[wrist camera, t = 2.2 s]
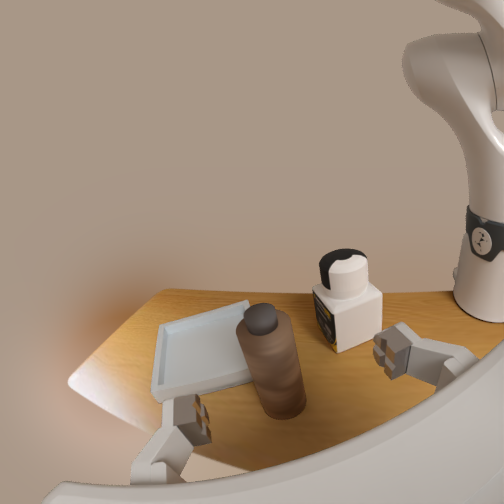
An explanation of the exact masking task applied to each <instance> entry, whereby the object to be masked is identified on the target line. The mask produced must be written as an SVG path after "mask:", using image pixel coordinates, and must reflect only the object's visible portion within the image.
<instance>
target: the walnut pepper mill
mask: <svg viewBox="0 0 504 504" xmlns="http://www.w3.org/2000/svg"><path fill="white" fill-rule="evenodd" d="M243 317H244V318H243V319H242V320H241V321H240V322H239V324H238V325H237V327H236V335H237V338H238V341H239V344H240V347H241V349H242V352H243V355H244V358H245V360H246V363H247V366H248V368H249V371H250V374H251V376H252V379H253V382H254V384H255V387H256V390H257V392H258V395H259V397H260V400H261V403H262V405H263V408H264V410H265V412H266V413H267V415H269V416H270V417H272V418H274V419H279V420H285V419H290V418H293V417H295V416H297V415H298V414H299V413H301V412H302V411H303V409H304V408H305V405H306V395H305V390H304V384H303V379H302V374H301V369H300V364H299V359H298V354H297V349H296V344H295V339H294V334H293V329H292V325H291V320H290V317H289V316H288V314H286V313H285V312H283V311H281V310H276V309H275V307H274V306H273V305H272V304H269V303H259V304H255V305H253V306H251V307H249V308H248V309H247V310H246V311H245V312H244V315H243Z"/></svg>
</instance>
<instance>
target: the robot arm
mask: <svg viewBox="0 0 504 504" xmlns="http://www.w3.org/2000/svg"><path fill="white" fill-rule="evenodd" d="M435 1H437V2H439V3H441V4H444V5H446V6H449V7H451V8H454V9H456V10H459V11H461V12H464V13H467V14H469V15H471V16H472V17H474V18H475V19H476V20H478V22H479V23H480V26H481V31H480V32H477V33H452V34H436V35H431V36H428V37H425V38H421V39H419V40H416V41H413V42H411V43H408V44H407V46H406V48H405V50H404V54H403V58H402V67H403V73H404V77H405V80H406V82H407V84H408V86H409V87H410V89H411V91H412V92H413V93H414V94H415V95H416V96H417V98H419V99H420V101H422V102H423V103H424V104H425V105H427V106H429V107H430V108H432V109H433V110H434V111H436V112H437V113H438V114H439V115H440V116H442V118H444V120H445V121H446V122H447V123H448V124H449V125H450V127H451V128H452V130H453V131H454V133H455V134H456V136H457V138H458V140H459V142H460V144H461V147H462V149H463V152H464V156H465V160H466V166H467V173H468V184H469V205H468V206H467V213H466V233H465V234H464V235H463V239H462V245H461V251H460V257H459V263H458V267H457V268H455V269H454V272H453V277H454V280H455V286H454V290H453V293H454V297H455V300H456V301H457V303H458V304H459V306H460V307H461V308H462V309H463V310H465V311H466V312H467V313H469V314H470V315H472V316H474V317H476V318H479V319H481V320H485V321H489V322H504V133H503V132H501V131H500V130H499V129H498V128H497V127H496V126H495V124H494V122H493V119H492V115H491V113H492V112H493V111H496V110H498V111H504V0H435ZM373 341H374V342H375V346H374V347H373V355H374V359H375V360H376V362H377V364H378V365H379V366H381V367H384V372H385V374H386V375H387V376H388V377H389V379H390V380H393V379H395V378H397V377H399V376H401V375H403V374H405V373H406V374H408V375H410V376H412V377H415V378H417V379H420V380H422V381H425V382H427V383H430V384H432V385H435V386H437V387H436V390H435V393H434V394H433V395H431V396H430V397H428V398H427V399H425V400H424V401H422V402H420V403H419V404H417V405H415V406H414V407H412V408H410V409H409V410H407V411H405V412H403V413H402V414H400V415H398V416H396V417H394V418H392V419H391V420H389V421H387V422H385V423H383V424H381V425H379V426H377V427H375V428H373V429H371V430H369V431H367V432H365V433H363V434H360V435H358V436H356V437H354V438H351V439H349V440H347V441H344V442H342V443H340V444H337V445H335V446H332V447H330V448H327V449H325V450H322V451H319V452H316V453H314V454H311V455H308V456H305V457H302V458H299V459H296V460H293V461H289V462H286V463H283V464H279V465H276V466H272V467H268V468H265V469H261V470H257V471H252V472H248V473H243V474H239V475H234V476H228V477H223V478H217V479H212V480H204V481H196V482H188V483H187V482H186V481H185V480H184V479H182V478H181V477H180V474H181V472H182V470H183V468H184V466H185V464H186V462H187V460H188V459H189V456H190V455H191V453H192V451H193V449H194V447H195V446H200V445H205V444H210V443H212V440H211V431H210V430H209V428H208V425H209V424H210V422H209V416H208V413H207V410H206V408H205V406H204V405H203V404H201V403H200V398H199V396H198V395H197V394H192V395H187V396H181V397H175V398H170V399H164V401H163V407H162V427H161V428H158V430H157V431H156V432H155V434H154V435H153V436H152V438H151V439H150V440H149V442H148V443H147V444H146V446H145V447H144V448H143V449H142V451H141V452H140V453H139V455H138V456H137V457H136V458H135V460H134V461H133V462H132V468H131V483H130V485H101V484H88V483H79V482H71V481H63V482H61V483H60V484H58V485H57V486H56V487H55V488H54V489H52V490H51V492H49V493H48V494H47V495H46V496H45V497H44V499H43V501H42V502H41V504H504V339H503V340H502V341H501V342H500V343H499V344H498V345H497V346H496V347H494V348H493V349H492V350H491V351H490V352H489V353H488V354H486V355H485V356H484V357H483V358H482V359H480V360H479V359H478V358H477V357H476V356H475V355H474V354H473V353H471V352H470V351H469V350H468V349H467V348H466V347H463V346H459V345H454V344H449V343H444V342H440V341H435V340H431V339H426V338H424V339H421V338H420V337H419V336H418V335H417V334H416V333H415V332H414V331H412V330H411V329H410V328H409V327H408V326H407V325H406V324H405V323H404V322H399V323H397V324H395V325H393V326H391V327H389V328H387V329H385V330H383V331H381V332H379V333H377V334H375V335H374V339H373Z"/></svg>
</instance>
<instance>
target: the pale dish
mask: <svg viewBox="0 0 504 504" xmlns="http://www.w3.org/2000/svg"><path fill="white" fill-rule="evenodd" d="M249 307H250V305H249V302H248V300H245V301H241V302H238V303H235V304H231V305H228V306H225V307H221V308H218V309H214V310H211V311H208V312H204V313H201V314H197V315H194V316H190V317H186V318H183V319H179V320H176V321H172V322H168V323H165V324H161V325H159V331H158V337H157V344H156V351H155V358H154V366H153V374H152V383H151V393H152V395H153V396H154V398H155V399H156V400H157V402H158V403H163V401H164V399H170V398H175V397H181V396H187V395H192V394H197V395H202V394H207V393H211V392H215V391H219V390H223V389H227V388H230V387H234V386H238V385H241V384H245V383H248V382H252V381H253V379H252V376H251V374H250V371H249V368H248V366H247V363H246V360H245V358H244V355H243V352H242V349H241V347H240V344H239V341H238V338H237V335H236V327H237V325H238V324H239V322H240V321H241V320H242V319H243V318H244V317H243V315H244V312H245V311H246V310H247V309H248V308H249Z"/></svg>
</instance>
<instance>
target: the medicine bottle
mask: <svg viewBox="0 0 504 504" xmlns="http://www.w3.org/2000/svg"><path fill="white" fill-rule="evenodd" d="M319 267H320V274H321V281H322V283H321V284H318V285H316V286H313V287H312V290H313V297H314V303H315V310H316V317H317V324H318V327H319V328H320V330H321V331H322V333H323V334H324V336H325V337H326V339H327V340H328V342H329V343H330V345H331V346H332V348H333V349H334V351H335V352H336V353H340V352H343V351H345V350H348V349H350V348H352V347H355V346H357V345H359V344H362V343H364V342H366V341H368V340H371V339H373V338H374V335H375V334H377V333H379V332H381V331H382V293H381V292H380V291H379V290H378V289H377V288H376V287H374V286H373V285H372V284H371V283H370V282H368V264H367V257H366V256H365V254H364V253H362V252H361V251H358V250H355V249H338V250H335V251H332V252H330V253H328V254H326V255H325V256H323V257H322V259H321V260H320V262H319Z"/></svg>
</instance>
